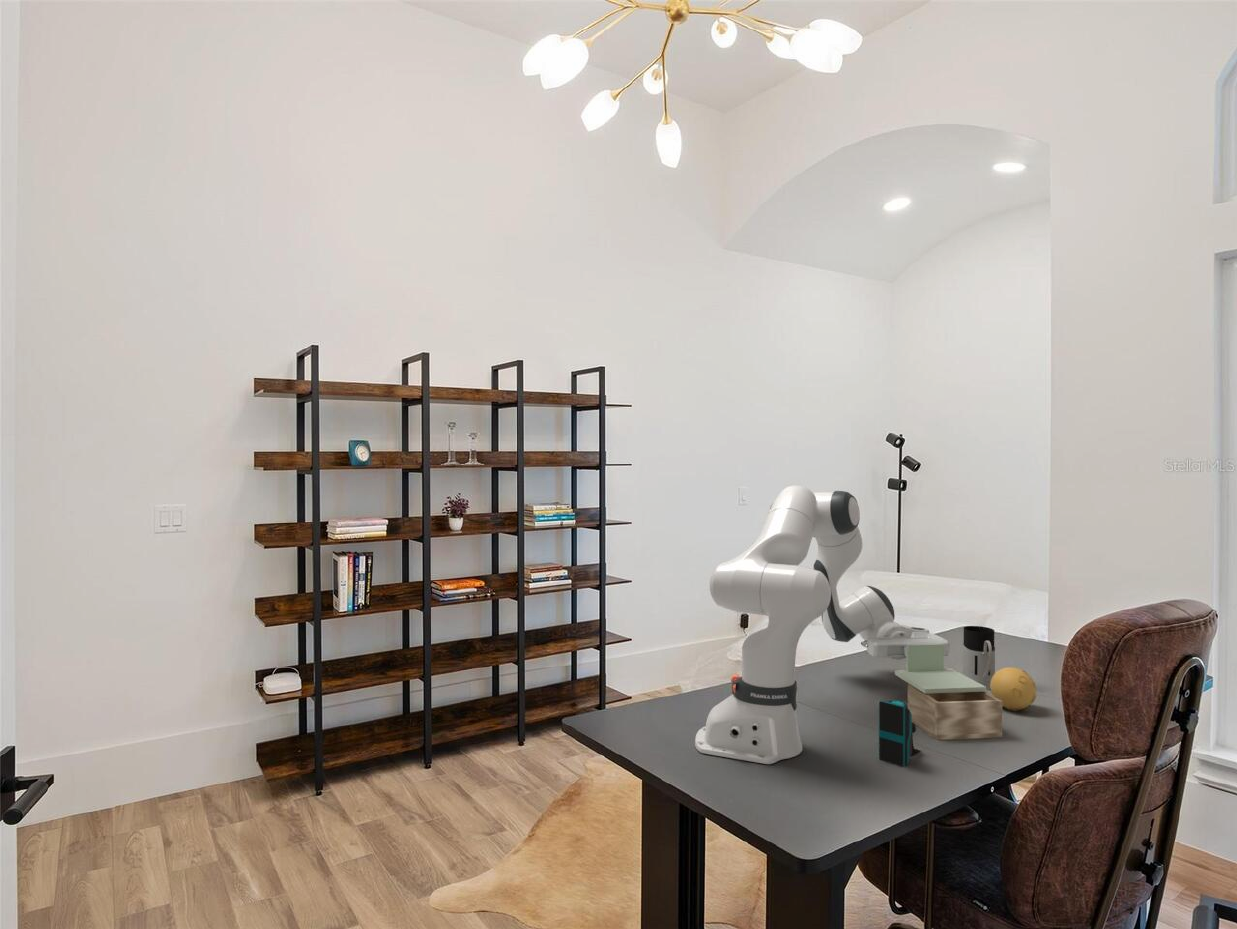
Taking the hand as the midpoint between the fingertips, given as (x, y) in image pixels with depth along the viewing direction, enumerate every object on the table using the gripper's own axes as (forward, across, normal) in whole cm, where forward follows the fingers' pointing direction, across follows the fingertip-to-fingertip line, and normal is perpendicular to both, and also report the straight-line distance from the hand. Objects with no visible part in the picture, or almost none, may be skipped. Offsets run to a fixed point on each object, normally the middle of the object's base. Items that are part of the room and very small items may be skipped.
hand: (922, 655), depth 180 cm
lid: (+7, 0, +4) cm, 8 cm away
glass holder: (-13, +23, +13) cm, 30 cm away
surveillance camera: (+27, -19, +13) cm, 36 cm away
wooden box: (+13, 0, +13) cm, 18 cm away
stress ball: (+3, +21, +13) cm, 25 cm away
